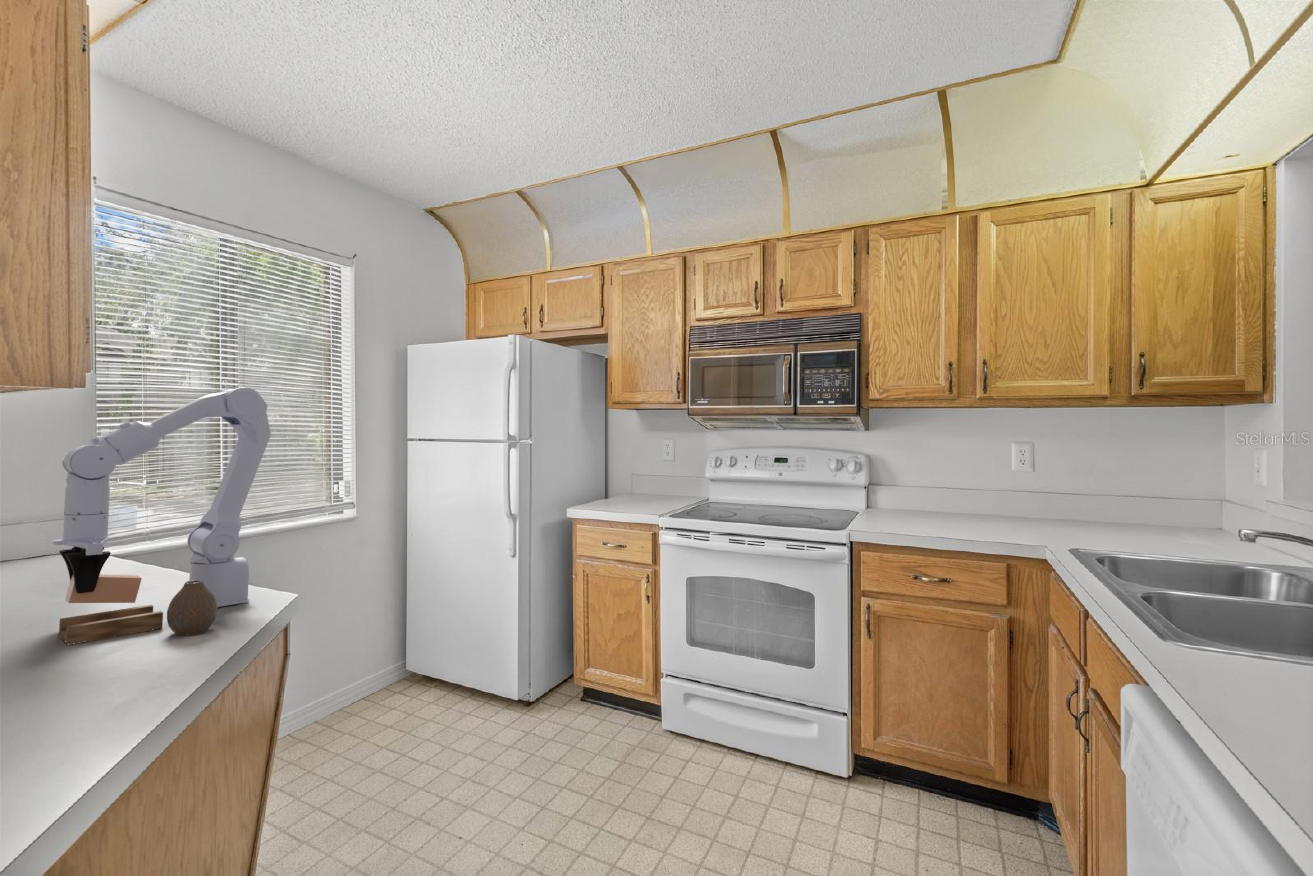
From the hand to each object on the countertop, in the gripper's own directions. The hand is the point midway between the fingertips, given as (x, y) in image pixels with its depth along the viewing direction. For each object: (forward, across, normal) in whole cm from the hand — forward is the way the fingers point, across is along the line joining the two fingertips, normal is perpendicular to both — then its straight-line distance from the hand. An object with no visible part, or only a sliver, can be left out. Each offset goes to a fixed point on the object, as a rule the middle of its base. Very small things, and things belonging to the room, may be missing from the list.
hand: (83, 590), depth 105 cm
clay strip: (+2, 0, +2) cm, 3 cm away
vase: (+6, +17, +11) cm, 21 cm away
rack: (+6, +8, +2) cm, 10 cm away
